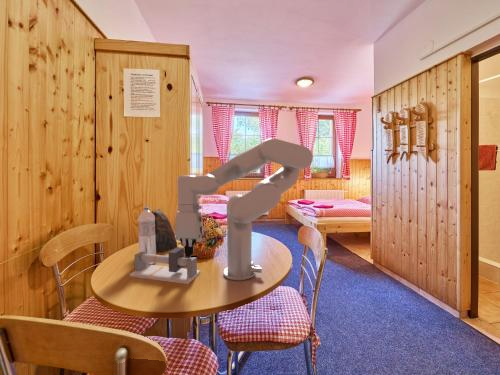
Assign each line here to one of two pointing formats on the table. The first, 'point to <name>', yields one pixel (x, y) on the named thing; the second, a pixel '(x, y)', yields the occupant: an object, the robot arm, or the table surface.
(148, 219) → the water bottle
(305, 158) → the robot arm
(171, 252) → the collar
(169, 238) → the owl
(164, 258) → the slider rail stand
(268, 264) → the table surface
